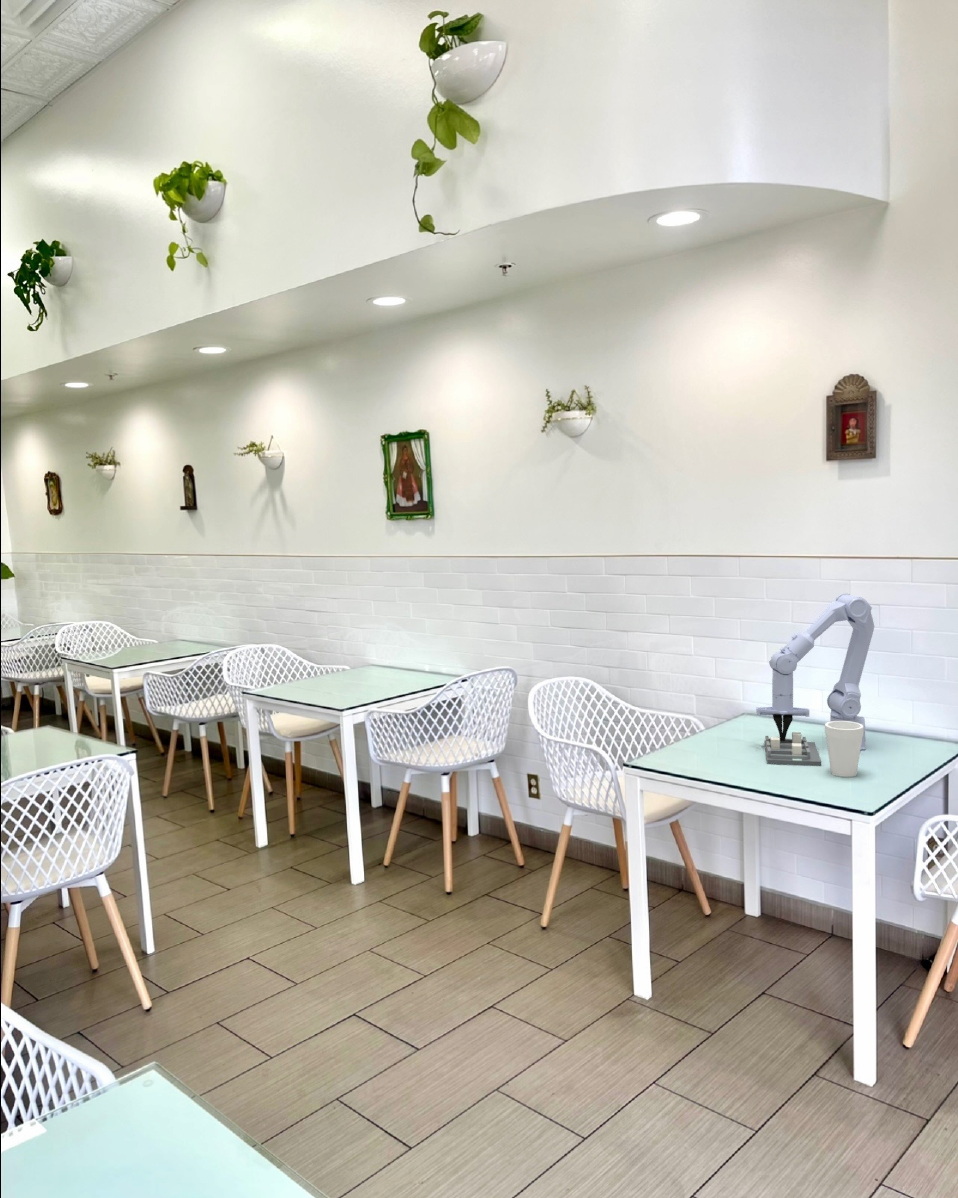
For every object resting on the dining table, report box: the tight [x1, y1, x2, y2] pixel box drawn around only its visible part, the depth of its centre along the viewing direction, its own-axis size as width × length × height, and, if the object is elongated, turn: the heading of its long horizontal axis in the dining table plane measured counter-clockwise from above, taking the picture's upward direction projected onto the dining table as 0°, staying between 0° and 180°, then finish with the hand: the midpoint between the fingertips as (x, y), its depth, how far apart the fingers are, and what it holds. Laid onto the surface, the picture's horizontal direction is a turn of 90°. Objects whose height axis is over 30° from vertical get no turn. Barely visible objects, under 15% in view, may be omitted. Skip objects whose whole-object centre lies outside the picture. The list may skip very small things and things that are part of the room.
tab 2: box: [791, 731, 802, 743], centre depth 272 cm, size 2×3×3 cm
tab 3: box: [792, 743, 802, 755], centre depth 261 cm, size 2×3×3 cm
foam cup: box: [824, 721, 864, 778], centre depth 248 cm, size 10×9×13 cm
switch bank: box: [764, 735, 822, 767], centre depth 267 cm, size 14×20×3 cm
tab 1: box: [769, 736, 780, 749], centre depth 268 cm, size 2×3×3 cm
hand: (782, 740), depth 273 cm, fingers closed
